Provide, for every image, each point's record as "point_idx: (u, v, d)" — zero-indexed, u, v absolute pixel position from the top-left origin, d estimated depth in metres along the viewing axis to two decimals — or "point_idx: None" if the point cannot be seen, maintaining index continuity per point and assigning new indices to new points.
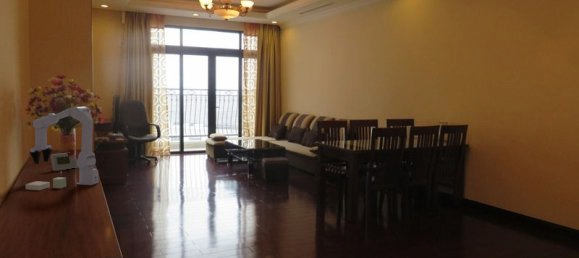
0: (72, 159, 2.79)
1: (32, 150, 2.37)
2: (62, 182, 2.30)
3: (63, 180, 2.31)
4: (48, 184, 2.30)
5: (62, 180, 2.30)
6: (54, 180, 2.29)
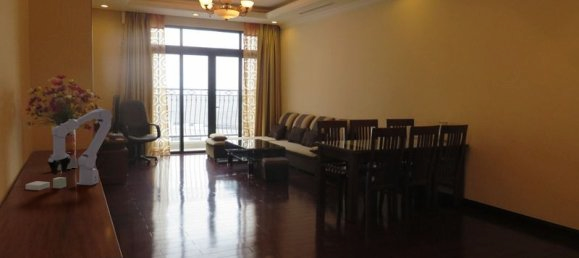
0: (72, 159, 2.79)
1: (50, 160, 2.23)
2: (62, 182, 2.30)
3: (63, 180, 2.31)
4: (48, 184, 2.30)
5: (62, 180, 2.30)
6: (54, 180, 2.29)
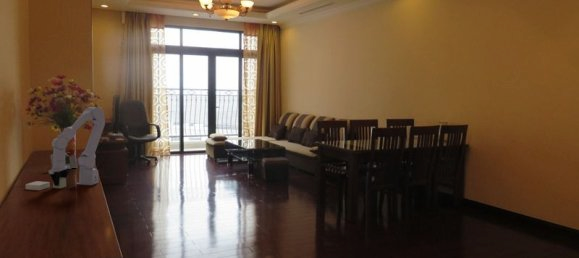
0: (72, 159, 2.79)
1: (50, 172, 2.23)
2: (62, 182, 2.30)
3: (63, 180, 2.31)
4: (48, 184, 2.30)
5: (62, 180, 2.30)
6: None
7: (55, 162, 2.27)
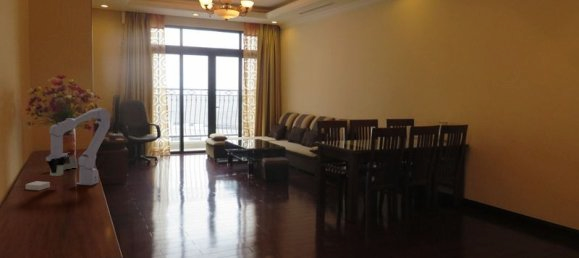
0: (72, 159, 2.79)
1: (48, 159, 2.22)
2: (59, 169, 2.29)
3: (60, 167, 2.30)
4: (48, 184, 2.30)
5: (59, 167, 2.29)
6: None
7: (52, 149, 2.26)
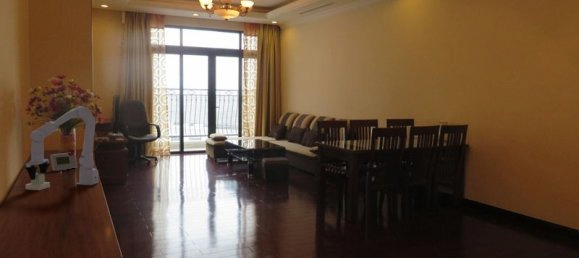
0: (72, 159, 2.79)
1: (28, 165, 2.19)
2: (40, 178, 2.26)
3: (41, 176, 2.27)
4: (48, 184, 2.30)
5: (40, 176, 2.26)
6: None
7: (33, 155, 2.23)
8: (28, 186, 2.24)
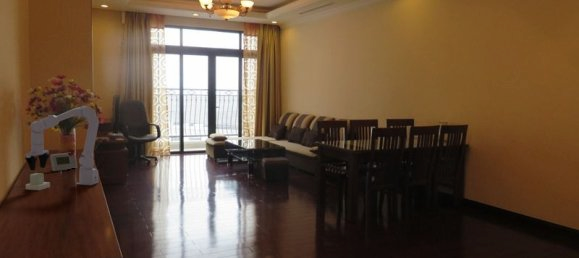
0: (72, 159, 2.79)
1: (28, 155, 2.19)
2: (39, 178, 2.26)
3: (40, 176, 2.27)
4: (48, 184, 2.30)
5: (39, 176, 2.26)
6: (31, 176, 2.25)
7: (33, 146, 2.23)
8: (28, 186, 2.24)
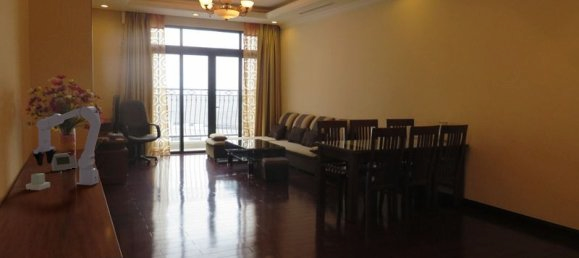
0: (72, 159, 2.79)
1: (35, 151, 2.31)
2: (40, 178, 2.26)
3: (41, 176, 2.27)
4: (48, 184, 2.30)
5: (40, 176, 2.26)
6: (32, 176, 2.25)
7: (40, 142, 2.35)
8: (28, 186, 2.24)
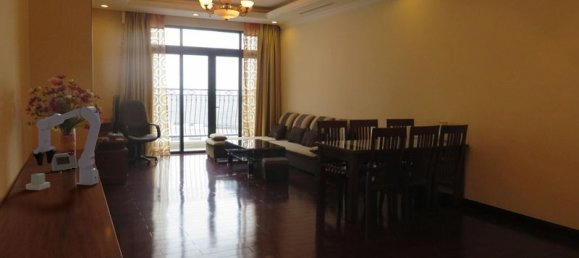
0: (72, 159, 2.79)
1: (35, 151, 2.31)
2: (40, 178, 2.26)
3: (42, 176, 2.27)
4: (48, 184, 2.30)
5: (40, 176, 2.26)
6: (32, 176, 2.25)
7: (40, 142, 2.35)
8: (28, 186, 2.24)
